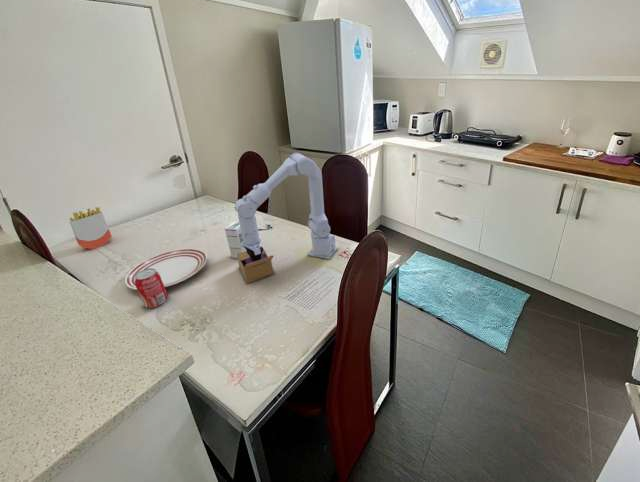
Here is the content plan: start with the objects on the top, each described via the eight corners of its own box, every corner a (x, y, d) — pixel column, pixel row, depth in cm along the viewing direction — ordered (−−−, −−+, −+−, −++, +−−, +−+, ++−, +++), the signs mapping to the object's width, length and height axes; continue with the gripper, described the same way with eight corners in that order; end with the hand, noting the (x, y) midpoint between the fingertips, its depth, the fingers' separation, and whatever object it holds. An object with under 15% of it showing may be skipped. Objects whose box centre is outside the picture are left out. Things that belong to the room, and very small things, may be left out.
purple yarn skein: (264, 260, 122) (263, 253, 121) (267, 264, 119) (266, 257, 118) (246, 266, 118) (245, 259, 117) (249, 271, 116) (247, 264, 114)
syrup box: (243, 259, 130) (237, 228, 124) (231, 257, 131) (223, 227, 125) (251, 251, 135) (245, 222, 129) (239, 250, 136) (232, 221, 130)
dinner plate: (117, 276, 120) (114, 269, 119) (192, 246, 139) (190, 240, 138) (140, 308, 104) (137, 300, 103) (221, 269, 123) (219, 262, 122)
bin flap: (270, 259, 118) (271, 260, 118) (244, 268, 113) (244, 269, 113) (272, 255, 113) (273, 256, 113) (245, 264, 108) (245, 265, 108)
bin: (273, 273, 121) (271, 259, 118) (247, 283, 116) (244, 268, 113) (264, 259, 129) (261, 246, 127) (239, 267, 124) (236, 253, 122)
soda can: (151, 296, 110) (140, 267, 105) (172, 294, 110) (162, 266, 105) (139, 310, 103) (127, 281, 98) (161, 308, 104) (150, 279, 99)
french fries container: (80, 249, 139) (63, 212, 132) (109, 238, 147) (95, 203, 140) (84, 252, 137) (67, 215, 129) (113, 241, 145) (99, 206, 138)
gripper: (233, 226, 116) (240, 256, 121) (243, 242, 105) (250, 275, 111) (252, 220, 120) (258, 251, 125) (264, 236, 109) (269, 268, 114)
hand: (255, 262), depth 118 cm, fingers closed on purple yarn skein, 3 cm apart
